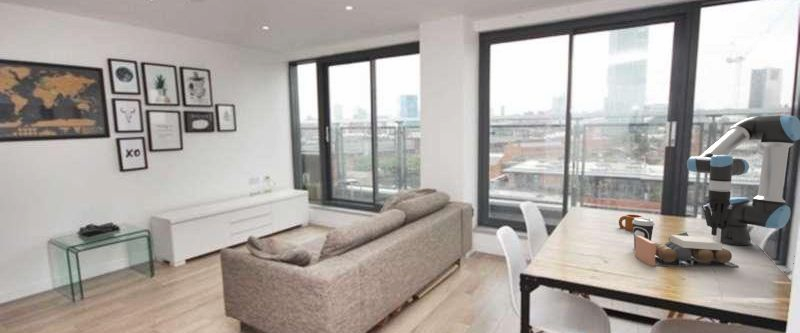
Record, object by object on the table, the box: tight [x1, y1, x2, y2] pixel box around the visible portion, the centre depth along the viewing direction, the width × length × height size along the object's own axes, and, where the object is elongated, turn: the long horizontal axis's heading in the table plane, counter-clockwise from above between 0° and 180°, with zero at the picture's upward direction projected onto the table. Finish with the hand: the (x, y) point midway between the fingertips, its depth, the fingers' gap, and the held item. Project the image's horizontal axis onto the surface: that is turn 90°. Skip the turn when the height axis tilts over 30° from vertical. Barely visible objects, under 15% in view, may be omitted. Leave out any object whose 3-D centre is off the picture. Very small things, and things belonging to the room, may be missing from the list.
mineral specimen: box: [668, 232, 689, 242], centre depth 192 cm, size 10×8×10 cm
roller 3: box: [688, 248, 714, 263], centre depth 177 cm, size 10×6×6 cm, turn 175°
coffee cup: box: [632, 217, 655, 249], centre depth 196 cm, size 10×10×15 cm
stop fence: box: [634, 235, 657, 267], centre depth 179 cm, size 2×13×10 cm, turn 175°
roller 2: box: [664, 240, 691, 261], centre depth 178 cm, size 10×6×6 cm
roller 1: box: [655, 242, 677, 262], centre depth 178 cm, size 10×6×6 cm, turn 175°
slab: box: [669, 234, 724, 250], centre depth 177 cm, size 16×10×3 cm, turn 85°
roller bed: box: [654, 255, 739, 268], centre depth 178 cm, size 34×14×2 cm, turn 85°
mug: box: [618, 213, 644, 232], centre depth 231 cm, size 9×12×9 cm
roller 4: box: [708, 247, 733, 263], centre depth 176 cm, size 10×6×6 cm, turn 175°
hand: (716, 242), depth 176 cm, fingers closed
